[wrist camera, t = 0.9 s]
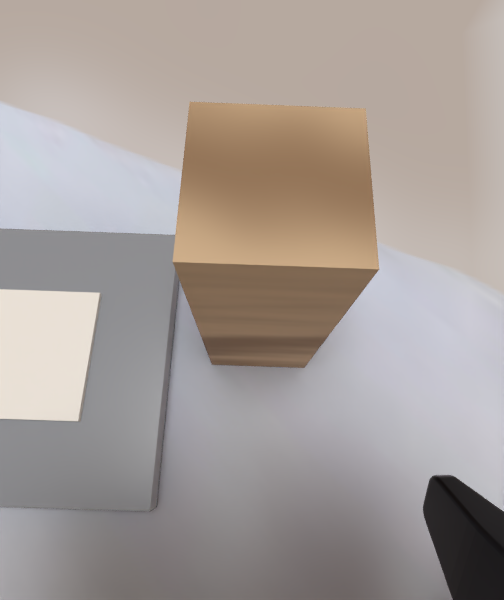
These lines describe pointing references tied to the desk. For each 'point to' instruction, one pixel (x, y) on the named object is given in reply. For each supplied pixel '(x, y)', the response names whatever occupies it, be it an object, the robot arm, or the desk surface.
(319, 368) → the desk surface
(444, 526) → the robot arm
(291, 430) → the desk surface
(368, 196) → the oak block
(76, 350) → the baseplate
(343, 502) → the desk surface
